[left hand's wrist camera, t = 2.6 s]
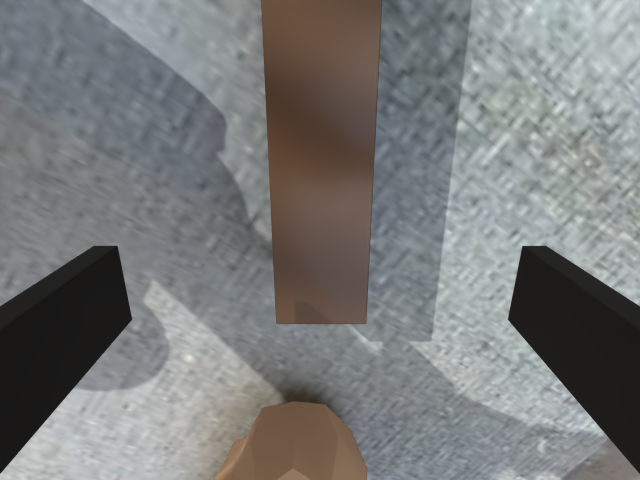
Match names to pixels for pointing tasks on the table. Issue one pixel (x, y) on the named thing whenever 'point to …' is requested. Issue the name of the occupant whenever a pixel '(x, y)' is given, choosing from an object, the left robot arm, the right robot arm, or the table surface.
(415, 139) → the table surface
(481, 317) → the table surface
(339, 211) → the post
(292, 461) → the squash
